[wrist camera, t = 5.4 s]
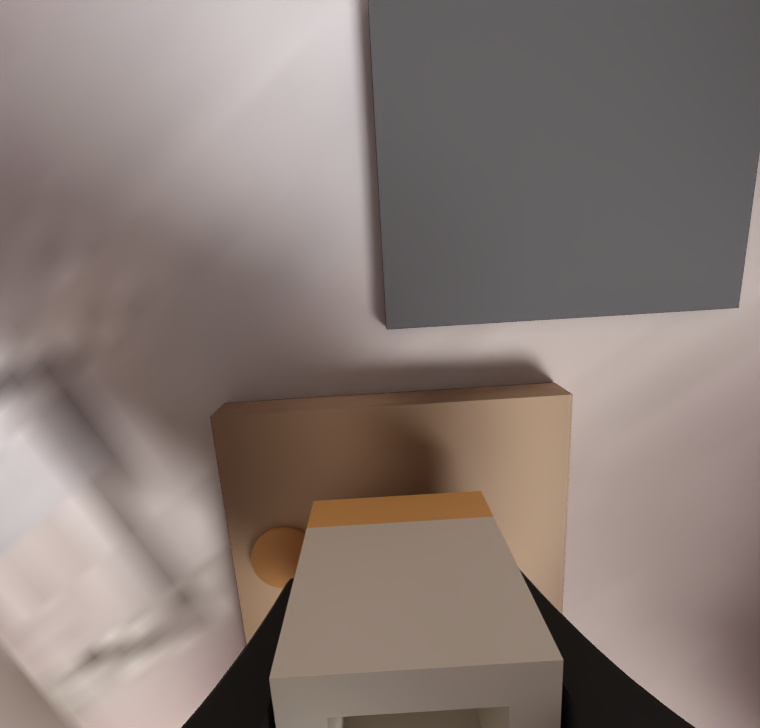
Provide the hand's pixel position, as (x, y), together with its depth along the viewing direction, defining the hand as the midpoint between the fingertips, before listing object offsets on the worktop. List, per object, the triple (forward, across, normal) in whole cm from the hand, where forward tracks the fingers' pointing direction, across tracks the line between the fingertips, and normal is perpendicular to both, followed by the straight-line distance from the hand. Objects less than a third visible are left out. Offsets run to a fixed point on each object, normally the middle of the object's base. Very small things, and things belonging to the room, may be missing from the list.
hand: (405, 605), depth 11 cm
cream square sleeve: (+1, 0, 0) cm, 1 cm away
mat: (+3, -5, -10) cm, 12 cm away
